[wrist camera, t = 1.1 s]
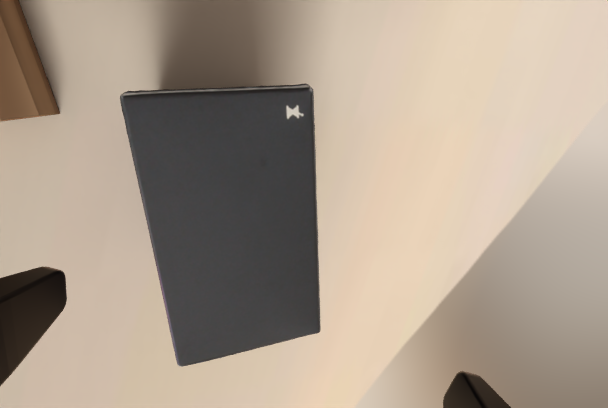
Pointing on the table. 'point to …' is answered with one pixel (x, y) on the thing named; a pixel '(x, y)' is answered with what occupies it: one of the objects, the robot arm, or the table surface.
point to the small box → (230, 213)
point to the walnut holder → (21, 69)
